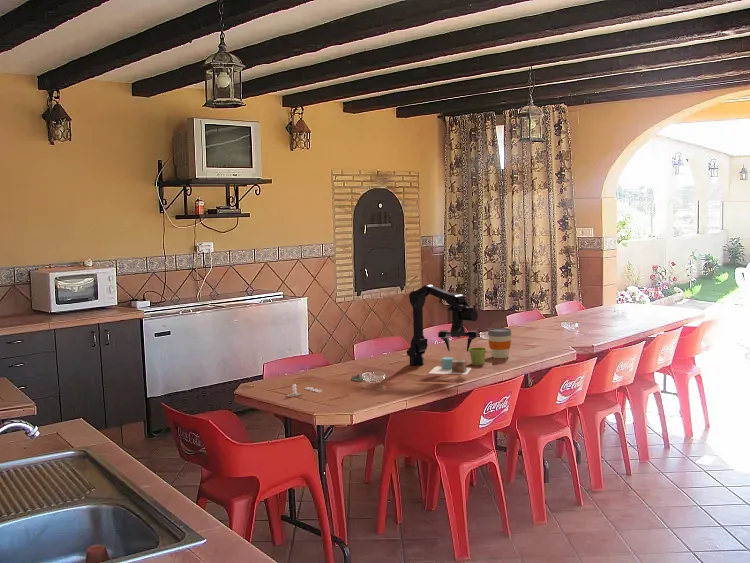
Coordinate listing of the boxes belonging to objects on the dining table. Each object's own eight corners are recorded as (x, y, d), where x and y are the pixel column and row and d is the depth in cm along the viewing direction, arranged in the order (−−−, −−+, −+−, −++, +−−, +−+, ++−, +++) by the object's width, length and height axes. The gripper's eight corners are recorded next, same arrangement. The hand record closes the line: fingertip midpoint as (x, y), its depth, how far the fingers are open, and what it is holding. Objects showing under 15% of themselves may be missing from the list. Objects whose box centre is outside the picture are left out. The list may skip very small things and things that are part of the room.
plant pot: (477, 368, 387) (477, 351, 386) (465, 365, 394) (464, 349, 394) (491, 365, 392) (490, 348, 391) (478, 362, 400) (477, 346, 399)
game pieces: (293, 400, 337) (293, 387, 337) (277, 395, 347) (276, 382, 347) (370, 382, 367) (370, 370, 366) (353, 378, 377) (352, 366, 376)
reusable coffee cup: (496, 360, 405) (495, 332, 403) (484, 356, 416) (483, 329, 415) (516, 357, 409) (515, 330, 408) (503, 354, 421) (503, 327, 419)
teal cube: (442, 368, 383) (441, 359, 383) (444, 366, 388) (443, 357, 387) (451, 369, 382) (451, 359, 381) (453, 367, 386) (453, 357, 386)
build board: (428, 375, 375) (428, 373, 375) (435, 368, 390) (435, 366, 390) (466, 376, 369) (466, 374, 369) (472, 369, 384) (472, 367, 384)
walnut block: (451, 372, 375) (451, 361, 374) (454, 369, 381) (454, 359, 380) (464, 372, 373) (463, 362, 373) (466, 369, 379) (466, 359, 378)
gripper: (435, 322, 369) (436, 354, 371) (474, 322, 365) (475, 354, 366) (439, 319, 380) (440, 349, 382) (477, 319, 375) (478, 350, 377)
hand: (458, 351), depth 376 cm, fingers open, 9 cm apart
